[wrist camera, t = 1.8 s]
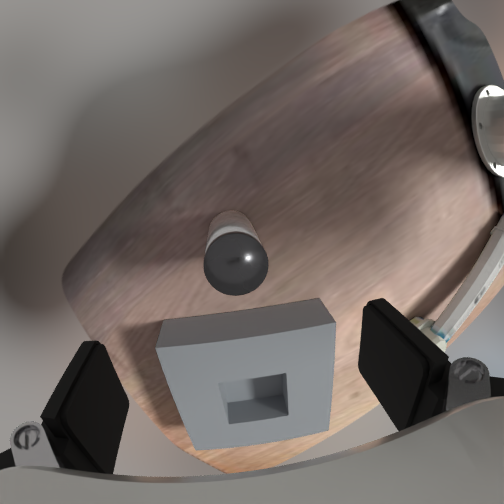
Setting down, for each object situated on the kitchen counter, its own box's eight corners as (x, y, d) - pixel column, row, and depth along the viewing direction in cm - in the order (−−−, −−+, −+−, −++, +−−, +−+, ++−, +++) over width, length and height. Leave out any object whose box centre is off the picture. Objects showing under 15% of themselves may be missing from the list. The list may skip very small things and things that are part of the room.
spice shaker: (250, 207, 26) (265, 230, 18) (255, 250, 28) (271, 290, 19) (205, 213, 26) (198, 239, 18) (212, 256, 27) (209, 299, 19)
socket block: (319, 298, 30) (336, 322, 25) (317, 403, 35) (328, 430, 30) (163, 319, 29) (155, 347, 24) (196, 421, 34) (195, 450, 29)
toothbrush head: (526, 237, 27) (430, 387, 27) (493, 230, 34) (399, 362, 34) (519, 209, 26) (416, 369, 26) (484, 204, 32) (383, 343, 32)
